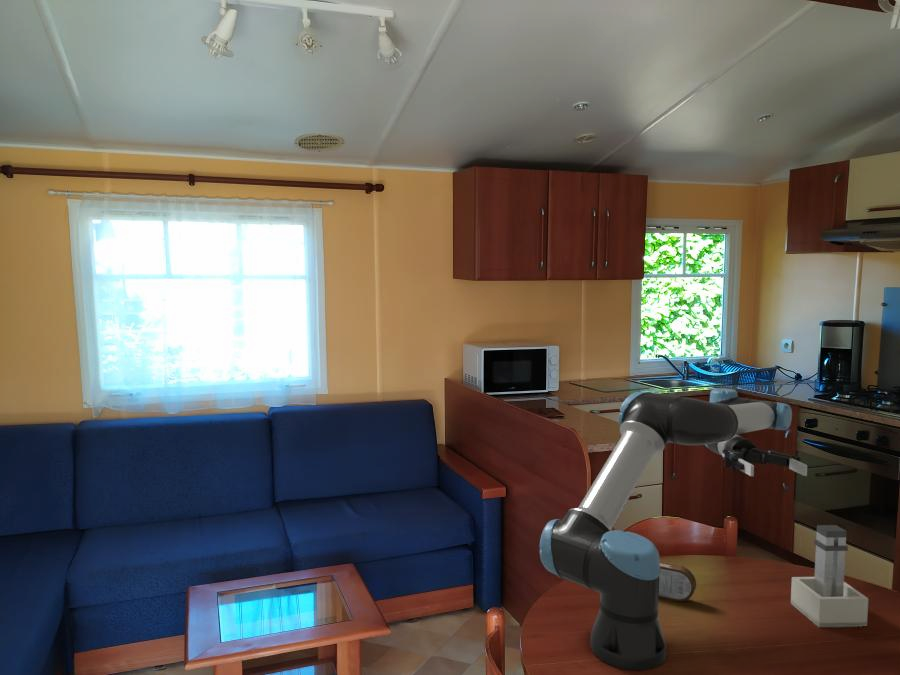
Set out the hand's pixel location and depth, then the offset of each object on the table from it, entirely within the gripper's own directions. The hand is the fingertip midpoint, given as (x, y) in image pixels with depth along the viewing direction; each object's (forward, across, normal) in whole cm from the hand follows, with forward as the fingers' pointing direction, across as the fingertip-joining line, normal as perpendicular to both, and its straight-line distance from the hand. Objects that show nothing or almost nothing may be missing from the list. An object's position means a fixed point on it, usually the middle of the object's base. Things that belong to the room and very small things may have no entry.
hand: (779, 470), depth 160 cm
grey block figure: (+14, -5, -29) cm, 32 cm away
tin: (+4, +30, -30) cm, 43 cm away
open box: (+14, -5, -30) cm, 33 cm away
